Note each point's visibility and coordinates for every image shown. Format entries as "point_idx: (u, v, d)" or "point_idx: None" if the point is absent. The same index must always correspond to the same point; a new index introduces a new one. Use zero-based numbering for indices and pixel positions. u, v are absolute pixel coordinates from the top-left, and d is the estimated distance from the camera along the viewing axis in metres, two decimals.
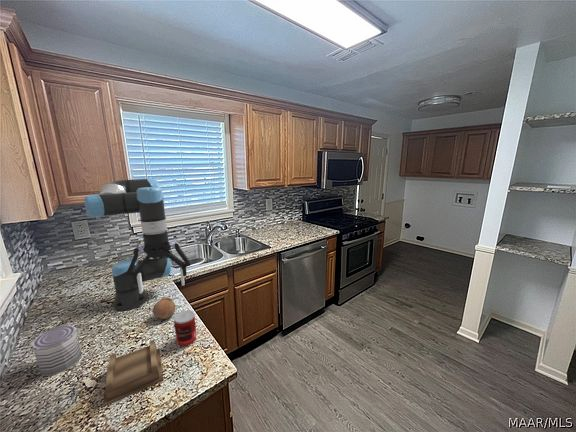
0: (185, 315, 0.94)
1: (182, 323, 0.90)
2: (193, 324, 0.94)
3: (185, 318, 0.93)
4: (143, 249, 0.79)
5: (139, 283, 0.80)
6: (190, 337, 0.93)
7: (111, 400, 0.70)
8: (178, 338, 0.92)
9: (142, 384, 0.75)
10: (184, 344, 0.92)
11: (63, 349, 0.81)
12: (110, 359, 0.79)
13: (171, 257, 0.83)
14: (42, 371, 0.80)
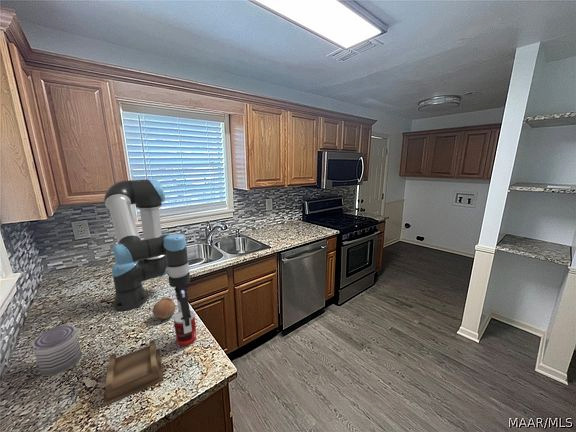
0: None
1: (182, 323, 0.90)
2: (193, 324, 0.94)
3: None
4: None
5: (178, 307, 0.98)
6: (190, 337, 0.93)
7: (111, 400, 0.70)
8: (178, 338, 0.92)
9: (142, 384, 0.75)
10: (184, 344, 0.92)
11: (63, 349, 0.81)
12: (110, 359, 0.79)
13: (180, 302, 0.88)
14: (42, 371, 0.80)
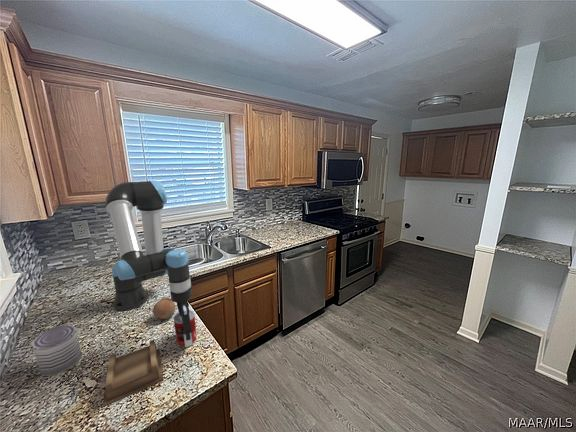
0: None
1: (182, 323, 0.90)
2: (193, 324, 0.94)
3: None
4: None
5: None
6: None
7: (111, 400, 0.70)
8: (178, 338, 0.92)
9: (142, 384, 0.75)
10: (184, 344, 0.92)
11: (63, 349, 0.81)
12: (110, 359, 0.79)
13: None
14: (42, 371, 0.80)
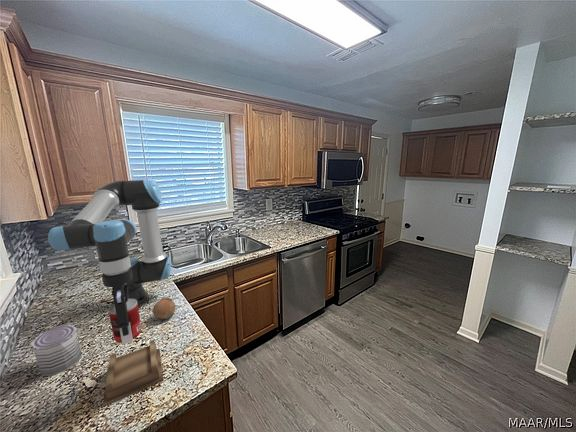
0: None
1: None
2: (134, 315, 0.74)
3: None
4: None
5: None
6: None
7: (111, 400, 0.70)
8: (114, 333, 0.73)
9: (142, 384, 0.75)
10: None
11: (63, 349, 0.81)
12: (110, 359, 0.79)
13: None
14: (42, 371, 0.80)
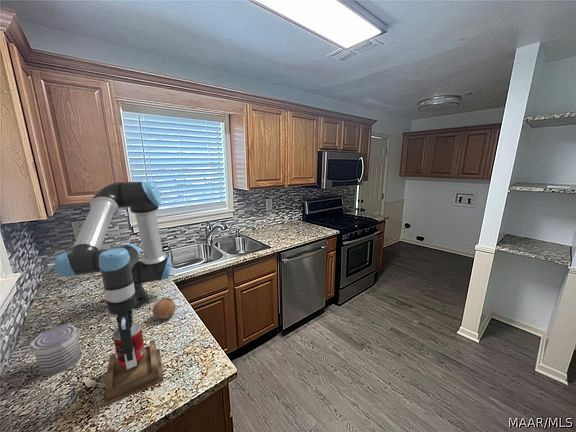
0: None
1: None
2: (138, 340, 0.76)
3: None
4: None
5: None
6: None
7: (111, 400, 0.70)
8: (118, 358, 0.74)
9: (142, 384, 0.75)
10: None
11: (63, 349, 0.81)
12: (110, 359, 0.79)
13: None
14: (42, 371, 0.80)
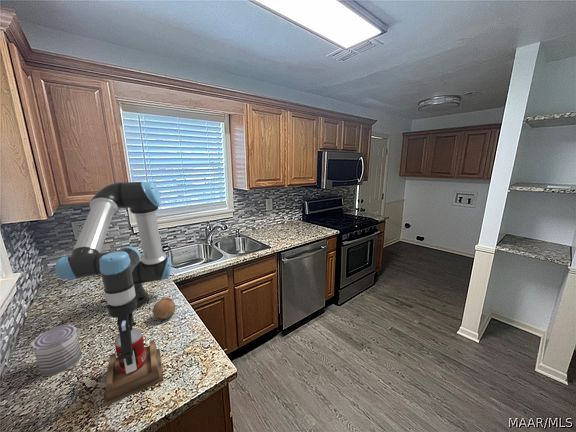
0: None
1: None
2: (139, 346, 0.77)
3: None
4: None
5: None
6: (136, 362, 0.76)
7: (111, 400, 0.70)
8: (120, 364, 0.75)
9: (142, 384, 0.75)
10: None
11: (63, 349, 0.81)
12: (110, 359, 0.79)
13: None
14: (42, 371, 0.80)
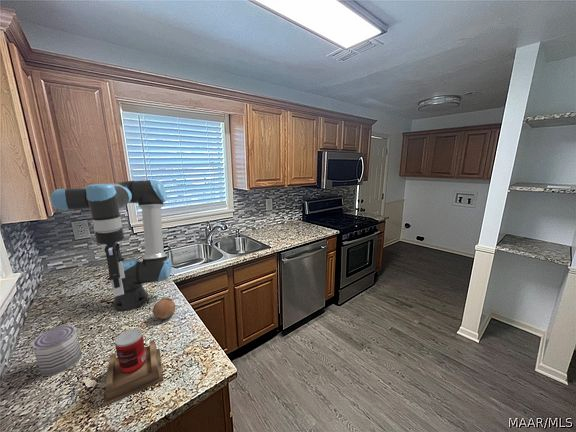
0: (130, 335, 0.78)
1: (124, 346, 0.73)
2: (140, 346, 0.77)
3: (129, 339, 0.76)
4: None
5: None
6: (136, 362, 0.76)
7: (111, 400, 0.70)
8: (120, 364, 0.75)
9: (142, 384, 0.75)
10: (127, 371, 0.75)
11: (63, 349, 0.81)
12: (110, 359, 0.79)
13: None
14: (42, 371, 0.80)
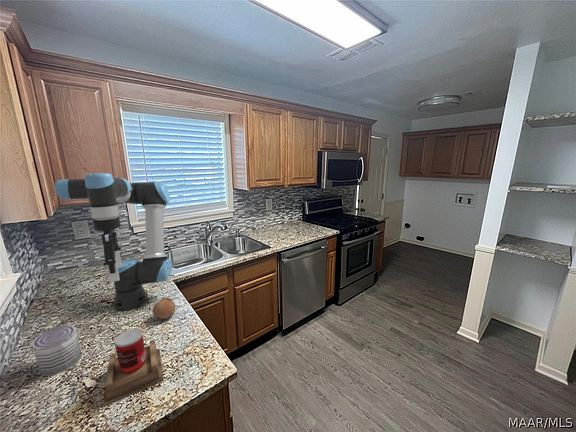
0: (130, 336, 0.78)
1: (123, 346, 0.73)
2: (140, 346, 0.77)
3: (129, 339, 0.76)
4: None
5: None
6: (136, 362, 0.76)
7: (111, 400, 0.70)
8: (120, 364, 0.75)
9: (142, 384, 0.75)
10: (127, 371, 0.75)
11: (63, 349, 0.81)
12: (110, 359, 0.79)
13: None
14: (42, 371, 0.80)
